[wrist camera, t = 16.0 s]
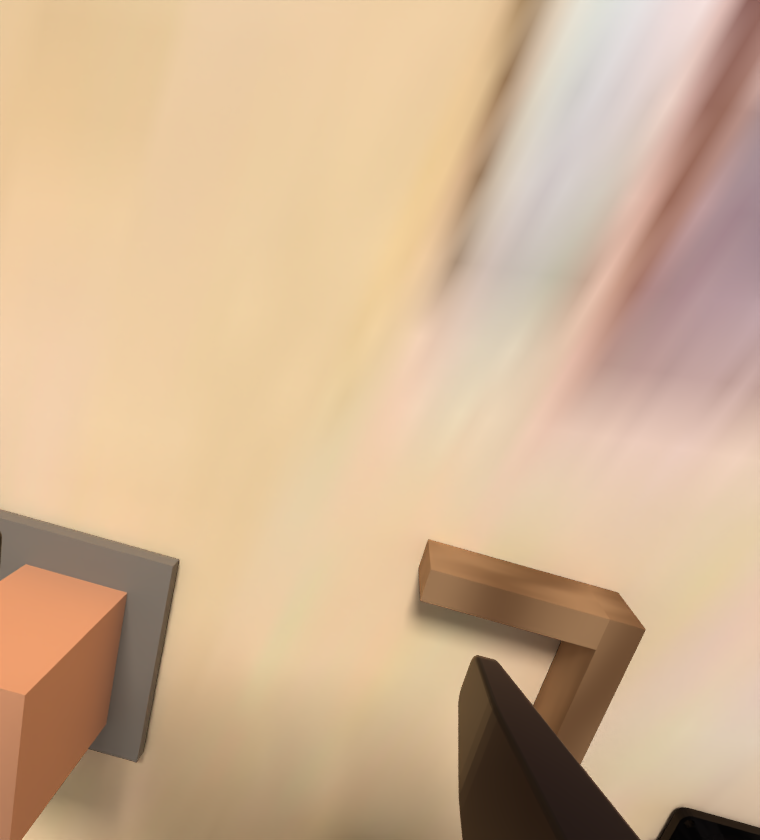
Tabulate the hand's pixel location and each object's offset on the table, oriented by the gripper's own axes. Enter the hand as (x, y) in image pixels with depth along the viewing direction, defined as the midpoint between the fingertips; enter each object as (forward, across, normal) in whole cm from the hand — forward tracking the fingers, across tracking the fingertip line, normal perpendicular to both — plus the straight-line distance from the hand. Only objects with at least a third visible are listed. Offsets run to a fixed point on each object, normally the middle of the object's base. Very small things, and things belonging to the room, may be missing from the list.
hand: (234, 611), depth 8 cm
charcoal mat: (+12, +10, +14) cm, 21 cm away
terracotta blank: (+11, +10, +14) cm, 21 cm away
